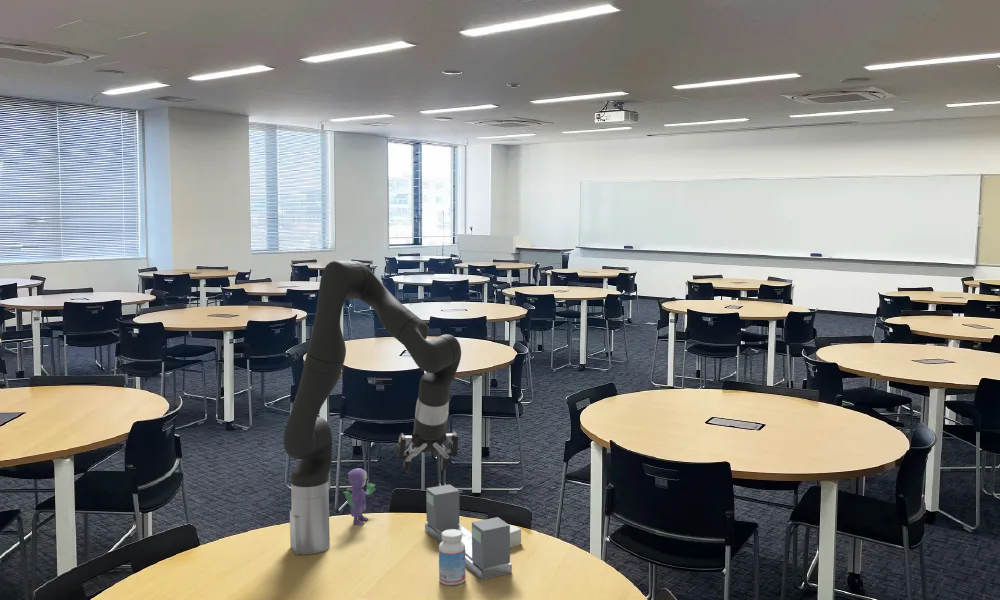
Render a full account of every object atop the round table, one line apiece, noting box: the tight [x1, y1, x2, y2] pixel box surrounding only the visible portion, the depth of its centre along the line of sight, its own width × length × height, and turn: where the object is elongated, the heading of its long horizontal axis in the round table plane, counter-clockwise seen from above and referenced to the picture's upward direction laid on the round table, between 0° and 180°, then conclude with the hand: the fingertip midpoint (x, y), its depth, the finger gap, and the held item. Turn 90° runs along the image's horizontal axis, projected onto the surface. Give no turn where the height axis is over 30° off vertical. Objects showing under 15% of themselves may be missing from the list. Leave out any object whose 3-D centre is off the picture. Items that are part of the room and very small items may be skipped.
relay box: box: [509, 524, 522, 549], centre depth 190 cm, size 6×4×4 cm, turn 133°
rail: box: [424, 522, 513, 580], centre depth 187 cm, size 8×34×2 cm, turn 28°
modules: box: [425, 484, 511, 569], centre depth 187 cm, size 7×34×9 cm, turn 28°
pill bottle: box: [438, 529, 467, 586], centre depth 170 cm, size 6×6×11 cm
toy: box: [342, 467, 376, 526], centre depth 206 cm, size 18×6×15 cm, turn 168°
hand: (425, 469), depth 178 cm, fingers open, 8 cm apart
